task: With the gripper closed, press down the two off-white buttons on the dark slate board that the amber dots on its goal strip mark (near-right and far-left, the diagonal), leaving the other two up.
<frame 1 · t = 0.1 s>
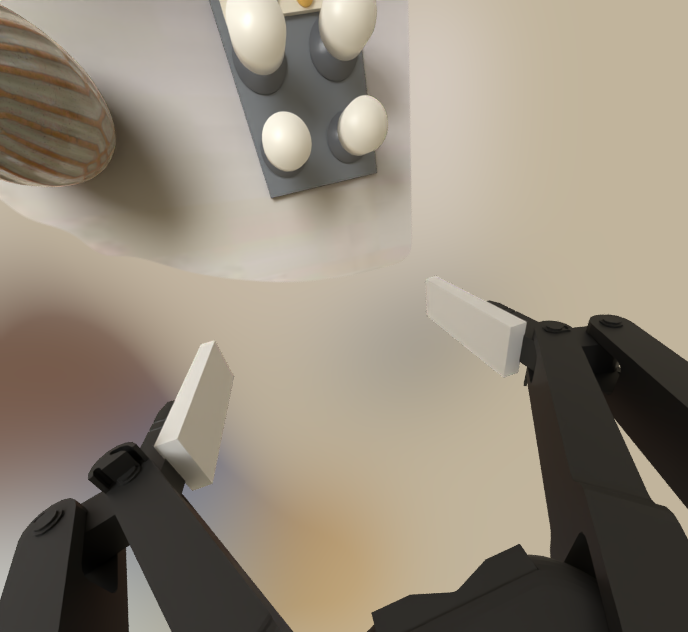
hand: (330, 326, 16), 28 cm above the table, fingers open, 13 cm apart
board: (304, 89, 32), on the table
button d: (359, 129, 31), point 6 cm above the table, slide at 0.0 cm
button c: (286, 145, 30), point 6 cm above the table, slide at 0.0 cm
button a: (258, 38, 25), point 6 cm above the table, slide at 0.0 cm
vase: (67, 122, 29), on the table
button b: (344, 25, 26), point 6 cm above the table, slide at 0.0 cm
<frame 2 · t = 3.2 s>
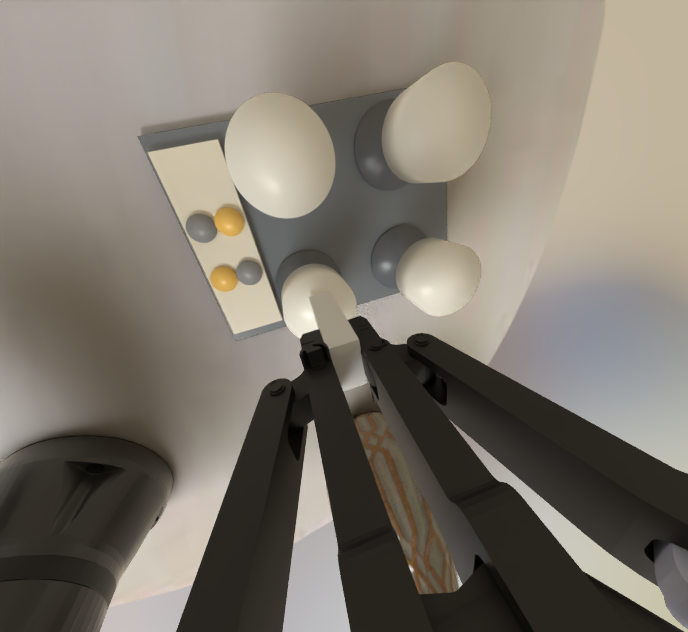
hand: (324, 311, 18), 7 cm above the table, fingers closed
board: (328, 223, 22), on the table
button d: (424, 136, 16), point 6 cm above the table, slide at 0.0 cm
button c: (429, 272, 20), point 6 cm above the table, slide at 0.0 cm
button a: (315, 297, 20), point 4 cm above the table, slide at 1.5 cm, touching gripper
vase: (364, 429, 35), on the table
button b: (281, 165, 15), point 6 cm above the table, slide at 0.0 cm
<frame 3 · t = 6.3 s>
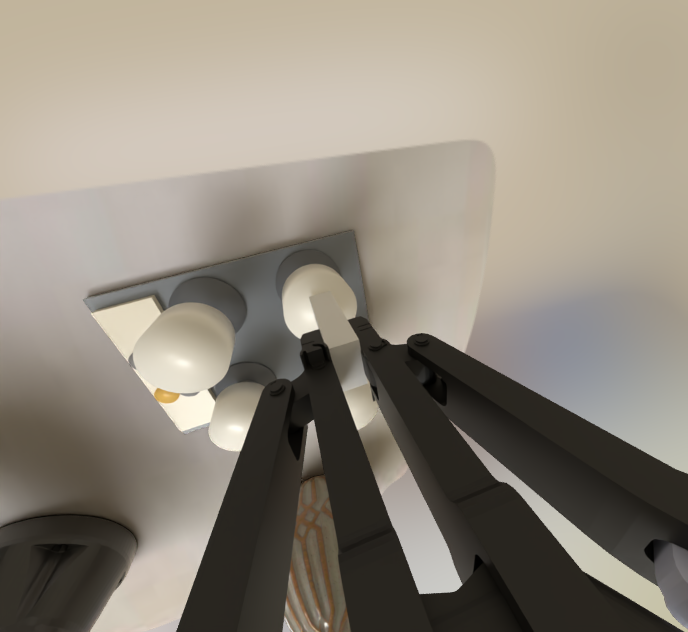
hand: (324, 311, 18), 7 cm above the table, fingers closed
board: (261, 338, 25), on the table
button d: (315, 298, 20), point 5 cm above the table, slide at 1.2 cm, touching gripper
button c: (341, 390, 23), point 6 cm above the table, slide at 0.0 cm
button a: (244, 407, 24), point 4 cm above the table, slide at 2.0 cm
vase: (317, 488, 38), on the table
button b: (194, 339, 18), point 6 cm above the table, slide at 0.0 cm
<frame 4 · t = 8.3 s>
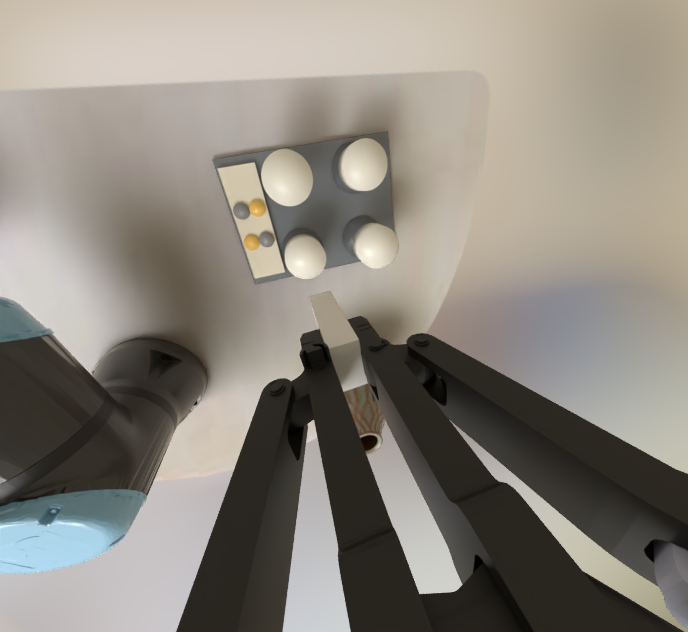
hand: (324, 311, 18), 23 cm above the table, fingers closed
board: (316, 212, 36), on the table
button d: (360, 167, 31), point 4 cm above the table, slide at 2.0 cm
button c: (372, 244, 34), point 6 cm above the table, slide at 0.0 cm
button a: (304, 254, 35), point 4 cm above the table, slide at 2.0 cm
vase: (340, 363, 49), on the table
button b: (287, 179, 29), point 6 cm above the table, slide at 0.0 cm
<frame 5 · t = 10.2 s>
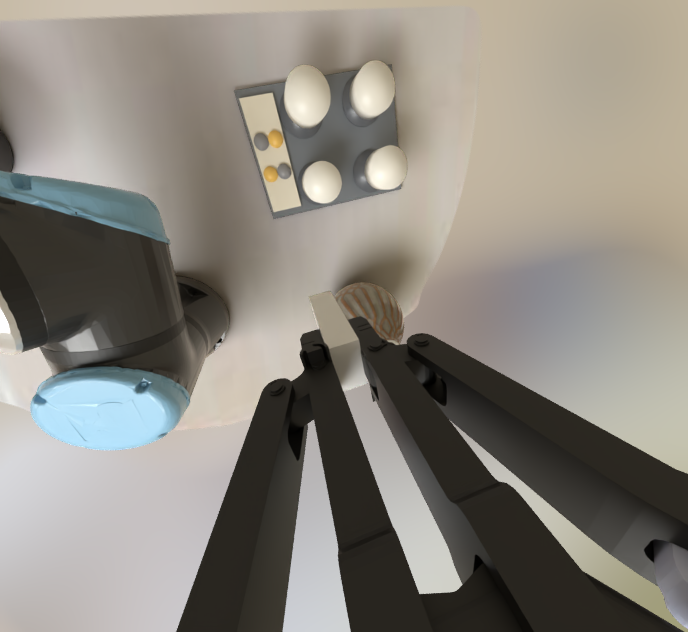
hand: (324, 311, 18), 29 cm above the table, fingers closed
board: (328, 147, 39), on the table
button d: (369, 94, 34), point 4 cm above the table, slide at 2.0 cm
button c: (382, 169, 37), point 6 cm above the table, slide at 0.0 cm
button a: (320, 183, 37), point 4 cm above the table, slide at 2.0 cm
vase: (352, 304, 52), on the table
button b: (305, 101, 31), point 6 cm above the table, slide at 0.0 cm
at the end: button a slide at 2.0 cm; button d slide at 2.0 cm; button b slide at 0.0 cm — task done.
